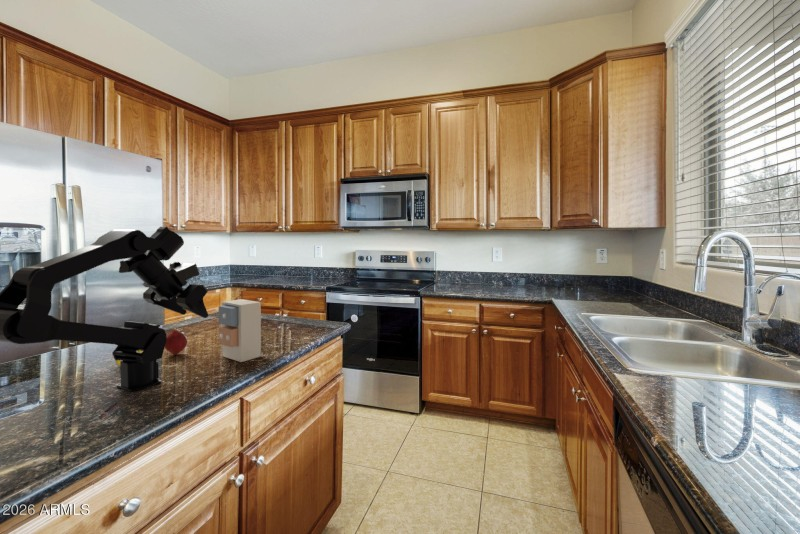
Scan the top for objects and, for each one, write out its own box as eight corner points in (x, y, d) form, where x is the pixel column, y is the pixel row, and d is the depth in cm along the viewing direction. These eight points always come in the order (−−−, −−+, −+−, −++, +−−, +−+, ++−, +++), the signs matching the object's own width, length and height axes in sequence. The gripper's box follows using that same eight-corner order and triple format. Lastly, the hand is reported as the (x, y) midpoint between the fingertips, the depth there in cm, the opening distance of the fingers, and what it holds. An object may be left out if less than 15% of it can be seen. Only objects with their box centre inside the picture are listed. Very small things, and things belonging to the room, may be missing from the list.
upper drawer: (230, 326, 101) (230, 308, 101) (217, 323, 104) (217, 306, 104) (239, 324, 104) (239, 307, 103) (226, 321, 107) (226, 305, 106)
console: (241, 362, 103) (241, 305, 102) (222, 356, 108) (221, 301, 107) (260, 356, 109) (260, 302, 107) (241, 351, 113) (241, 299, 112)
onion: (191, 352, 111) (191, 326, 110) (178, 358, 105) (177, 331, 104) (173, 351, 111) (173, 325, 111) (159, 357, 105) (159, 330, 105)
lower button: (230, 347, 102) (230, 329, 101) (217, 343, 105) (217, 326, 104) (239, 345, 104) (239, 328, 104) (226, 341, 107) (226, 325, 107)
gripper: (202, 252, 88) (238, 295, 98) (157, 250, 97) (195, 290, 106) (167, 284, 81) (210, 328, 91) (122, 280, 90) (166, 320, 99)
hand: (195, 315), depth 97 cm, fingers open, 9 cm apart
